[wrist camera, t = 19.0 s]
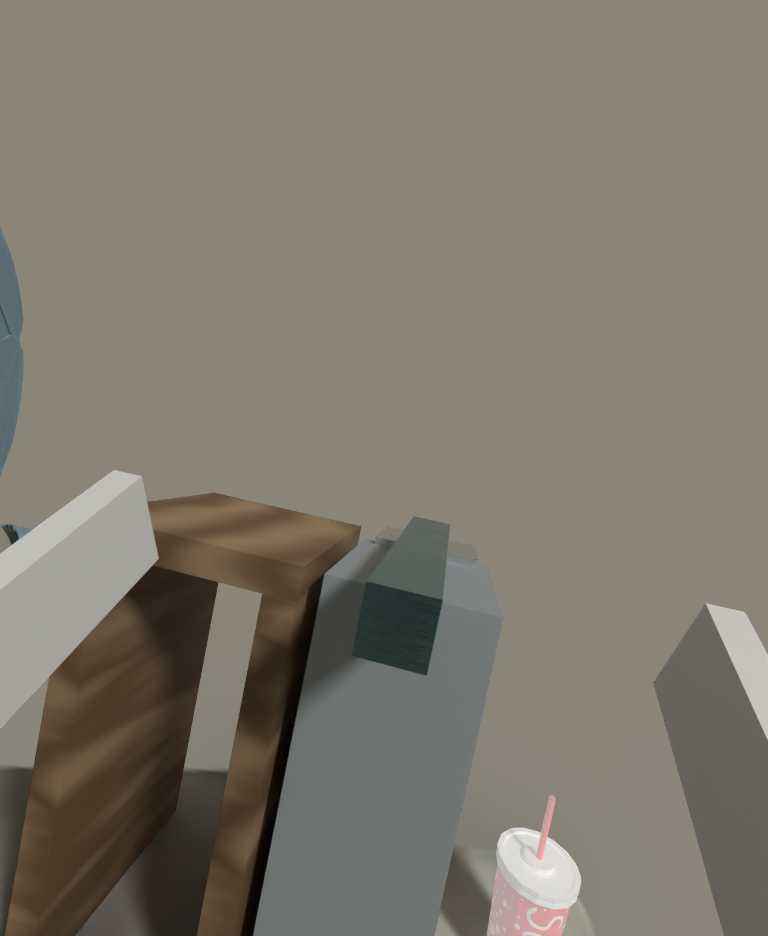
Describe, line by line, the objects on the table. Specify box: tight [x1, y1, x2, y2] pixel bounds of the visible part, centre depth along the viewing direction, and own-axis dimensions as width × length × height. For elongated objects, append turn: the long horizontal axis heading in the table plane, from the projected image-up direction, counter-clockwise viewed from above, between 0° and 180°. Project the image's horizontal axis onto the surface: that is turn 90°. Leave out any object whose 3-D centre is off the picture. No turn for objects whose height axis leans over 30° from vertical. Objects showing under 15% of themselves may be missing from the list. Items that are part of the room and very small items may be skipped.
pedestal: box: [253, 539, 503, 936], centre depth 33 cm, size 11×13×30 cm
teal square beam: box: [351, 517, 478, 676], centre depth 30 cm, size 8×26×3 cm, turn 171°
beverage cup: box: [487, 795, 581, 936], centre depth 36 cm, size 6×6×14 cm
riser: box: [5, 493, 361, 936], centre depth 36 cm, size 14×16×30 cm
